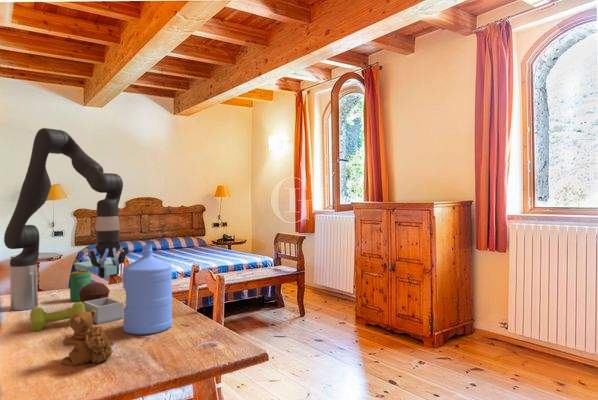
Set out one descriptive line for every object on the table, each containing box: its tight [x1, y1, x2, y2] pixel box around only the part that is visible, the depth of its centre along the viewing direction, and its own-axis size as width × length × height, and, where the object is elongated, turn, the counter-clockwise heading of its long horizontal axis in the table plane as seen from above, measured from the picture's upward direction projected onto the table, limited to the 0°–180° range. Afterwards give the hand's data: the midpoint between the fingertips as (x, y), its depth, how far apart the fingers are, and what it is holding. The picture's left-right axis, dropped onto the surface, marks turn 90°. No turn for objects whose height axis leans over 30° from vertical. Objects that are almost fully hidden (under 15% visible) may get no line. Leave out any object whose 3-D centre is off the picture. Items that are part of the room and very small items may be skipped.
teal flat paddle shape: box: [73, 259, 118, 276], centre depth 154 cm, size 19×11×3 cm, turn 49°
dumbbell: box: [29, 302, 85, 332], centre depth 144 cm, size 16×8×7 cm, turn 124°
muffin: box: [79, 281, 111, 304], centre depth 166 cm, size 12×11×10 cm
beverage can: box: [69, 270, 92, 303], centre depth 180 cm, size 8×8×12 cm
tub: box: [84, 296, 124, 325], centre depth 152 cm, size 12×9×6 cm
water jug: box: [122, 244, 173, 336], centre depth 141 cm, size 16×16×28 cm
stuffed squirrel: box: [60, 310, 114, 366], centre depth 113 cm, size 10×14×13 cm
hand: (108, 276), depth 149 cm, fingers closed on teal flat paddle shape, 4 cm apart
